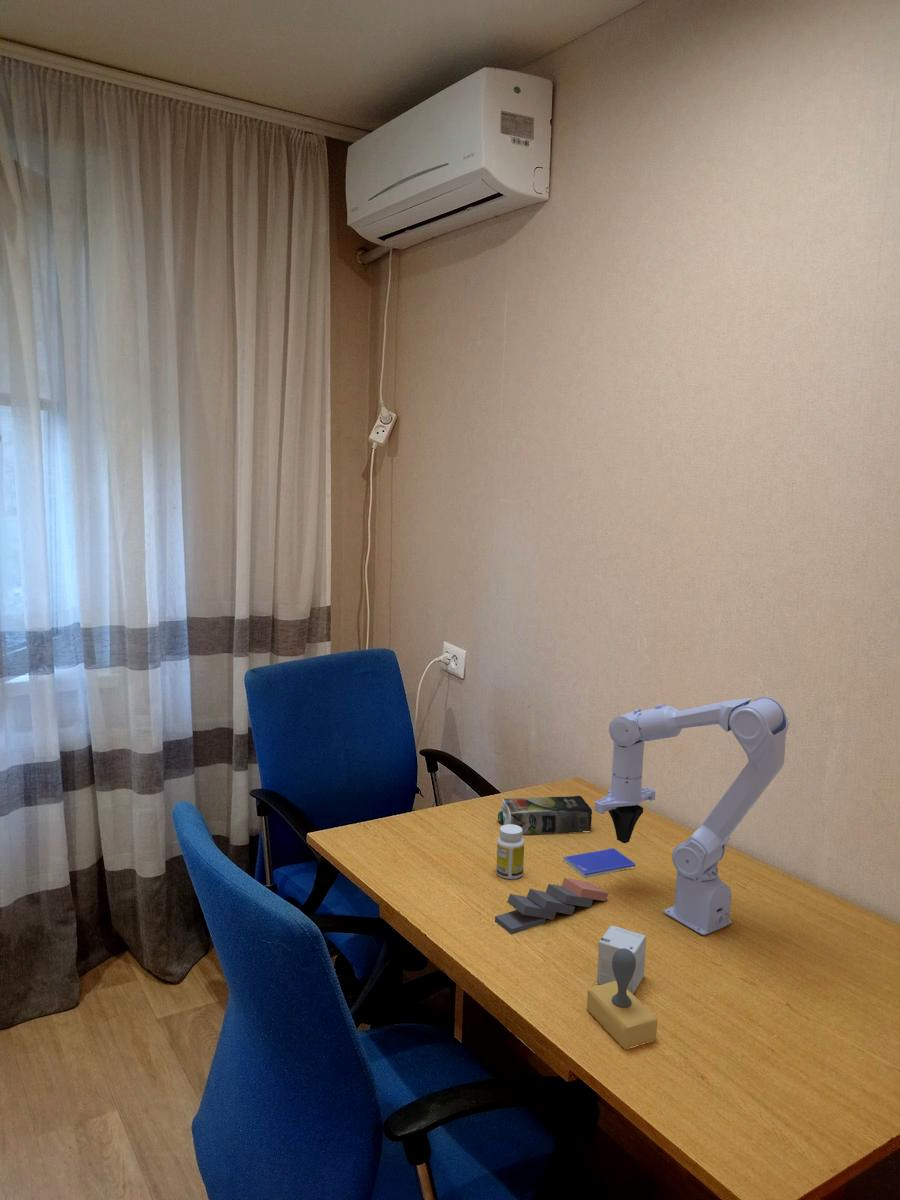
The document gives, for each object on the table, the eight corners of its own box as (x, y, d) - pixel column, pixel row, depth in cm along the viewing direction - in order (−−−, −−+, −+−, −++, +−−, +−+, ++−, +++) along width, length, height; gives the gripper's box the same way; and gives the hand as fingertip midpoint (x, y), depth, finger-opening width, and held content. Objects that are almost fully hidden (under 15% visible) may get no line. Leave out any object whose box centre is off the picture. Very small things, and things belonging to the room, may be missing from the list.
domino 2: (528, 906, 156) (495, 916, 152) (545, 918, 152) (511, 929, 148) (527, 914, 156) (494, 924, 152) (544, 926, 152) (511, 937, 148)
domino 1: (540, 899, 158) (510, 893, 154) (556, 911, 153) (525, 906, 149) (537, 907, 157) (507, 902, 154) (553, 919, 153) (522, 914, 149)
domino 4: (574, 888, 162) (548, 883, 158) (593, 899, 158) (567, 895, 154) (572, 896, 162) (545, 892, 158) (590, 907, 158) (564, 903, 154)
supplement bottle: (523, 868, 173) (525, 824, 171) (522, 880, 168) (524, 835, 166) (496, 866, 173) (498, 822, 172) (495, 878, 168) (497, 833, 167)
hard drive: (584, 873, 169) (635, 863, 174) (563, 856, 177) (612, 847, 182) (584, 880, 170) (635, 870, 175) (563, 863, 177) (612, 854, 182)
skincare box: (644, 977, 137) (647, 934, 135) (632, 996, 131) (635, 952, 130) (608, 965, 140) (611, 923, 139) (595, 983, 134) (598, 940, 133)
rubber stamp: (585, 1009, 128) (589, 936, 126) (617, 1001, 130) (621, 929, 128) (624, 1051, 119) (629, 972, 117) (657, 1041, 121) (662, 964, 119)
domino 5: (589, 882, 165) (564, 877, 160) (608, 893, 161) (582, 888, 156) (587, 890, 165) (561, 885, 160) (605, 901, 160) (579, 896, 156)
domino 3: (557, 894, 159) (529, 888, 155) (575, 906, 155) (547, 900, 151) (554, 902, 159) (526, 896, 155) (572, 915, 155) (543, 909, 151)
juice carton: (505, 837, 188) (506, 811, 187) (496, 820, 197) (497, 795, 197) (591, 835, 191) (593, 809, 190) (578, 818, 201) (580, 793, 200)
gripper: (638, 761, 169) (634, 825, 171) (584, 774, 161) (581, 841, 163) (665, 772, 164) (660, 838, 166) (611, 785, 156) (607, 855, 158)
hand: (623, 840), depth 164 cm, fingers closed
